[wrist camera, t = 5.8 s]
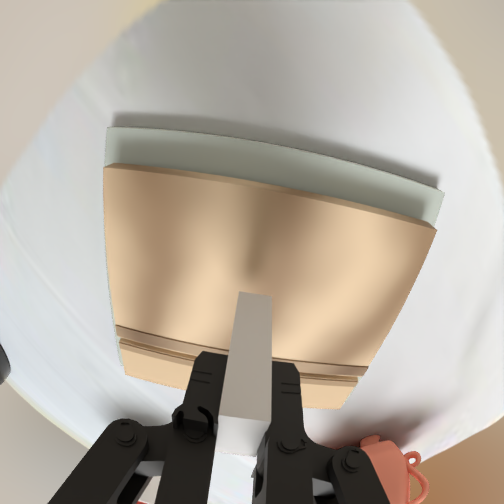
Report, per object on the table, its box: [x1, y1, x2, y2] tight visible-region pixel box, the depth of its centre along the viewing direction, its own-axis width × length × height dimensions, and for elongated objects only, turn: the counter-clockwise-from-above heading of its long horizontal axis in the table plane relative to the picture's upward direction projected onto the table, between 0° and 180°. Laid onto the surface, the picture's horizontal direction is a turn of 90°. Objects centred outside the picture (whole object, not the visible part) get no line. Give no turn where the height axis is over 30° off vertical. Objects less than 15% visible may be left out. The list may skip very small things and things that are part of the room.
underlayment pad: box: [104, 126, 445, 409], centre depth 18 cm, size 20×19×2 cm
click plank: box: [103, 163, 437, 377], centre depth 17 cm, size 18×12×1 cm, turn 80°
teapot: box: [360, 435, 429, 504], centre depth 24 cm, size 15×17×13 cm
